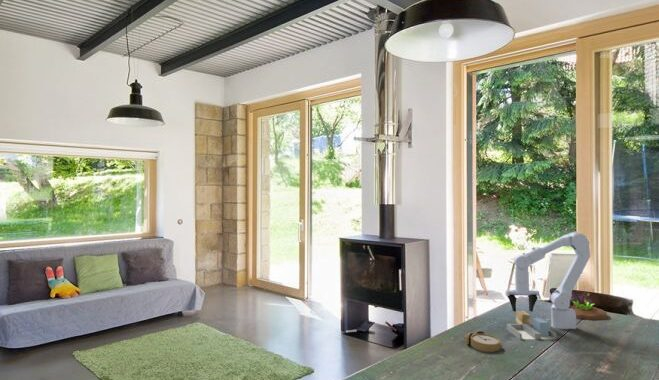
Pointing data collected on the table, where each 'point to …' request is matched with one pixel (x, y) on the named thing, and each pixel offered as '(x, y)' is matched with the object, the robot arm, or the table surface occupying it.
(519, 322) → the maple plug block
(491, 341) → the alarm clock
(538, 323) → the slate-blue plug block
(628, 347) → the table surface
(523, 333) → the grey socket board
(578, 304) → the plant
